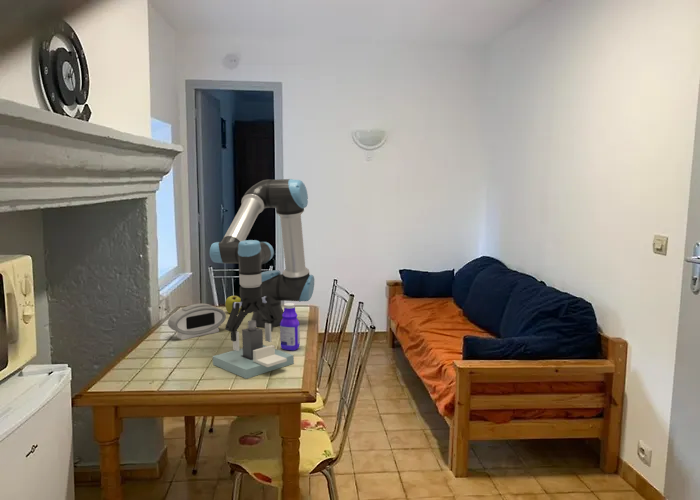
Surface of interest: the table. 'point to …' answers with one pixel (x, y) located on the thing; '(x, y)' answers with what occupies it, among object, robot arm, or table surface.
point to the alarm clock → (196, 320)
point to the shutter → (267, 356)
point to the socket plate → (247, 363)
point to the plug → (251, 339)
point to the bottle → (289, 328)
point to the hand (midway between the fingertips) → (252, 345)
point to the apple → (231, 302)
